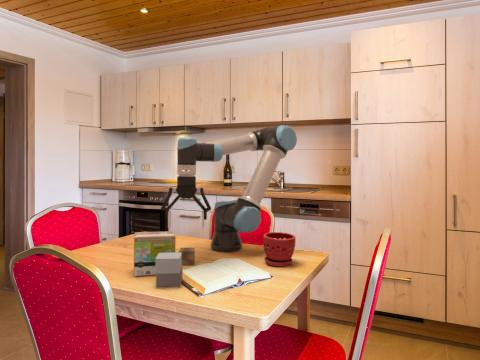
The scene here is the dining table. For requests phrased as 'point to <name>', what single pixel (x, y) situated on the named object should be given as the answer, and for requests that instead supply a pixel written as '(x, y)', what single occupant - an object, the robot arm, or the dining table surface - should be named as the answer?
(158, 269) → the grey square block
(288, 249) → the plant pot
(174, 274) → the dark grey block
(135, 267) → the tea box
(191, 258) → the walnut cube
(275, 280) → the dining table surface
